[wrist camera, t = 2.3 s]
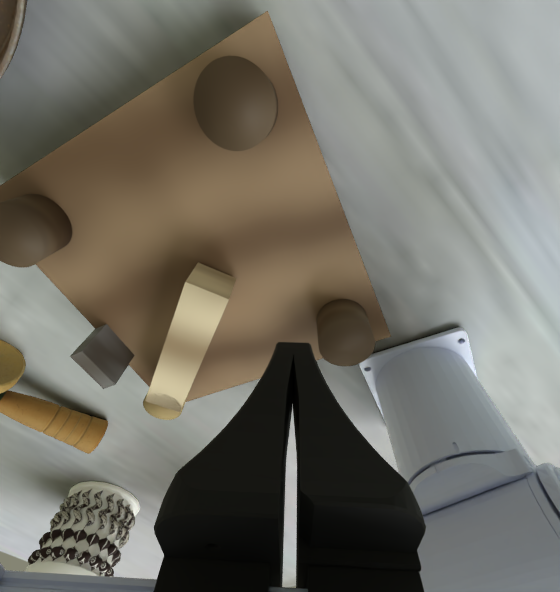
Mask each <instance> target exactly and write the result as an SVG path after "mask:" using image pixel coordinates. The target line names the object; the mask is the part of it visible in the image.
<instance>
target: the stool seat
mask: <svg viewBox="0 0 560 592" xmlns="http://www.w3.org/2000/svg"><path fill="white" fill-rule="evenodd" d="M0 261H2V262H4V263H6V264H9V265H11V266H15V267H29V266H32V265H34V264H36V265H37V266H38V267H39V268H40V269H41V271H42V272H43V273H44V274H45V275H46V276H47V277H48V278H49V279H50V280H51V281H52V282H53V283H54V285H55V286H56V287H57V288H58V289H59V290H60V291H61V292H62V293H63V294H64V295H65V296H66V297H67V299H68V300H69V301H70V302H71V303H72V304H73V305H74V306H75V307H76V308H77V309H78V310H79V311H80V313H81V314H82V315H83V316H84V317H85V318H86V319H87V320H88V321H89V322H90V323H91V324H92V326H93V327H94V328H95V330H94V331H93V332H92V333H91V334H90V335H89V336H88V337H87V339H86V340H85V341H84V342H83V343H82V344H81V345H80V346H79V347H78V348H77V349H76V350H75V351H74V353H73V354H72V355H71V356H70V357H71V358H72V359H73V360H74V361H75V362H76V363H77V364H79V365H80V366H81V367H82V368H83V369H84V370H85V371H86V372H87V373H88V374H89V375H90V376H91V377H92V378H93V379H94V380H95V381H96V382H97V383H98V384H99V385H100V386H101V387H102V388H103V389H104V388H107V387H110V386H113V385H115V384H116V383H117V381H118V380H119V378H120V377H121V375H122V374H123V372H124V371H125V369H126V368H127V366H128V365H130V367H131V368H132V369H133V370H134V371H135V372H136V373H137V374H138V375H139V376H140V377H141V378H142V379H143V381H144V382H145V383H146V384H147V385H148V386H149V387H150V385H151V382H152V379H153V376H154V373H155V370H156V367H157V364H158V361H159V358H160V355H161V352H162V349H163V346H164V343H165V341H166V338H167V335H168V332H169V329H170V326H171V323H172V320H173V317H174V314H175V311H176V308H177V305H178V302H179V299H180V296H181V293H182V290H183V287H184V284H185V282H186V280H187V279H188V277H189V275H190V274H191V272H192V271H193V269H194V268H195V266H196V265H197V263H201V264H203V265H205V266H208V267H210V268H213V269H215V270H217V271H220V272H222V273H225V274H227V275H229V276H232V277H234V278H237V279H236V282H235V284H234V287H233V290H232V293H231V295H230V298H229V301H228V303H227V305H226V308H225V310H224V312H223V314H222V317H221V319H220V321H219V324H218V326H217V328H216V330H215V333H214V335H213V337H212V340H211V342H210V344H209V347H208V349H207V351H206V353H205V356H204V358H203V360H202V363H201V365H200V367H199V369H198V372H197V374H196V376H195V379H194V381H193V383H192V386H191V389H190V391H189V394H188V397H187V399H186V402H187V401H190V400H193V399H197V398H200V397H203V396H206V395H209V394H212V393H215V392H219V391H222V390H225V389H228V388H231V387H234V386H237V385H240V384H244V383H247V382H250V381H253V380H256V379H259V378H261V377H262V375H263V374H264V372H265V370H266V368H267V366H268V364H269V362H270V360H271V357H272V355H273V353H274V350H275V347H276V344H277V343H278V342H301V343H309V344H311V347H312V351H313V354H314V357H315V360H319V359H322V358H324V359H325V360H326V361H328V362H329V363H331V364H334V365H338V366H353V365H356V364H359V363H361V362H363V361H365V360H366V359H367V358H368V357H369V356H370V355H371V354H372V352H373V351H374V348H375V341H379V340H382V339H385V338H388V337H391V335H390V332H389V330H388V327H387V324H386V322H385V319H384V317H383V314H382V311H381V309H380V306H379V303H378V301H377V298H376V295H375V293H374V290H373V288H372V285H371V282H370V280H369V277H368V274H367V272H366V269H365V266H364V264H363V261H362V258H361V256H360V253H359V251H358V248H357V245H356V243H355V240H354V237H353V235H352V232H351V229H350V227H349V224H348V222H347V219H346V216H345V214H344V211H343V208H342V206H341V203H340V200H339V198H338V195H337V193H336V190H335V187H334V185H333V182H332V179H331V177H330V174H329V171H328V169H327V166H326V164H325V161H324V158H323V156H322V153H321V150H320V148H319V145H318V142H317V140H316V137H315V134H314V132H313V129H312V127H311V124H310V121H309V119H308V116H307V113H306V111H305V108H304V105H303V103H302V100H301V98H300V95H299V92H298V90H297V87H296V84H295V82H294V79H293V76H292V74H291V71H290V69H289V66H288V63H287V61H286V58H285V55H284V53H283V50H282V47H281V45H280V42H279V40H278V37H277V34H276V32H275V29H274V26H273V24H272V21H271V18H270V16H269V13H268V11H267V12H265V13H264V14H262V15H260V16H259V17H257V18H256V19H254V20H253V21H251V22H250V23H248V24H247V25H245V26H244V27H242V28H241V29H239V30H238V31H236V32H235V33H233V34H231V35H230V36H228V37H227V38H225V39H224V40H222V41H221V42H219V43H218V44H216V45H215V46H213V47H212V48H210V49H209V50H207V51H205V52H204V53H202V54H201V55H199V56H198V57H196V58H195V59H193V60H192V61H190V62H189V63H187V64H186V65H184V66H183V67H181V68H179V69H178V70H176V71H175V72H173V73H172V74H170V75H169V76H167V77H166V78H164V79H163V80H161V81H160V82H158V83H157V84H155V85H153V86H152V87H150V88H149V89H147V90H146V91H144V92H143V93H141V94H140V95H138V96H137V97H135V98H134V99H132V100H131V101H129V102H127V103H126V104H124V105H123V106H121V107H120V108H118V109H117V110H115V111H114V112H112V113H111V114H109V115H108V116H106V117H105V118H103V119H101V120H100V121H98V122H97V123H95V124H94V125H92V126H91V127H89V128H88V129H86V130H85V131H83V132H82V133H80V134H79V135H77V136H76V137H74V138H72V139H71V140H69V141H68V142H66V143H65V144H63V145H62V146H60V147H59V148H57V149H56V150H54V151H53V152H51V153H50V154H48V155H46V156H45V157H43V158H42V159H40V160H39V161H37V162H36V163H34V164H33V165H31V166H30V167H28V168H27V169H25V170H24V171H22V172H20V173H19V174H17V175H16V176H14V177H13V178H11V179H10V180H8V181H7V182H5V183H4V184H2V185H1V186H0Z"/></svg>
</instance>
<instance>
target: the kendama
mask: <svg viewBox="0 0 560 592" xmlns="http://www.w3.org/2000/svg"><path fill="white" fill-rule="evenodd" d="M25 366H26V363H25V359H24V357H23V355H22V354H21V352H20V351H19V350H18V349H16V348H15V347H13V346H12V345H10V344H8V343H7V342H5V341H2V340H0V412H1V413H3V414H4V415H6V416H8V417H10V418H12V419H14V420H16V421H18V422H20V423H22V424H24V425H26V426H28V427H30V428H32V429H35V430H37V431H39V432H43V433H44V434H46V435H48V436H51V437H54V438H55V439H58V440H60V441H63V442H65V443H67V444H69V445H71V446H72V445H73V446H74V447H75V448H77V449H79V450H81V451H83V452H85V453H88V454H89V453H91V452H92V451H93V450H94V449H95V448H96V447H97V446H98V444H99V442H100V441H101V439H102V437H103V436H104V434H105V432H106V429H107V426H108V421H106V420H103V419H100V418H96V417H93V416H92V417H90V415H87V414H84V413H80V412H78V411H75V410H71V409H69V408H66V407H63V406H61V407H60V406H59V405H57V404H54V403H51V402H48V401H45V400H42V399H39V398H36V397H32V396H28V395H24V394H20V393H16V392H12V391H8V390H9V389H10V388H12V387H13V386H14V385H15V384H16V383H17V381H18V380H19V379H20V377H21V376H22V375H23V373H24V370H25Z"/></svg>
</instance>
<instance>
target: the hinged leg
mask: <svg viewBox="0 0 560 592" xmlns="http://www.w3.org/2000/svg"><path fill="white" fill-rule="evenodd" d="M236 279H237V278H234V277H232V276H229V275H227V274H225V273H222V272H220V271H217V270H215V269H213V268H210V267H208V266H205V265H203V264H201V263H197V265H196V266H195V268H194V269H193V271H192V272H191V274H190V275H189V277H188V279H187V280H186V282H185V284H184V287H183V290H182V293H181V296H180V299H179V302H178V305H177V308H176V311H175V314H174V317H173V320H172V323H171V326H170V329H169V332H168V335H167V338H166V341H165V343H164V346H163V349H162V352H161V355H160V358H159V361H158V364H157V367H156V370H155V373H154V376H153V379H152V382H151V385H150V388H149V391H148V393H147V395H146V397H145V399H144V401H143V406H144V408H145V410H146V411H147V412H148V413H149V414H151V415H152V416H154V417H156V418H159V419H164V420H170V419H175V418H177V417H178V416H179V415H180V414H181V412H182V409H183V407H184V404H185V402H186V399H187V397H188V394H189V391H190V389H191V386H192V383H193V381H194V379H195V376H196V374H197V372H198V369H199V367H200V365H201V363H202V360H203V358H204V356H205V353H206V351H207V349H208V347H209V344H210V342H211V340H212V337H213V335H214V333H215V330H216V328H217V326H218V324H219V321H220V319H221V317H222V314H223V312H224V310H225V308H226V305H227V303H228V301H229V298H230V295H231V293H232V290H233V287H234V284H235V282H236Z"/></svg>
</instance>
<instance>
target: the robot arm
mask: <svg viewBox="0 0 560 592" xmlns="http://www.w3.org/2000/svg"><path fill="white" fill-rule="evenodd" d="M460 338H462V339H461V340H459V339H460ZM359 367H360V369H361V371H362V373H363V375H364V378H365V380H366V382H367V384H368V386H369V388H370V390H371V393H372V395H373V397H374V399H375V401H376V403H377V405H378V408H379V410H380V412H381V414H382V416H383V418H384V421H385V423H386V427H387V431H388V434H389V438H390V441H391V445H392V449H393V452H394V456H395V460H396V463H397V467H398V470H399V473H398V472H396V471H395V470H394V469H393V468H392V467H391V466H390V465H389V464H388V463H387V462H386V461H385V460H384V459H383V458H382V457H381V456H380V455H379V454H378V452H377V451H376V450H375V449H374V448H373V447H372V446H371V445H370V444H369V442H368V441H367V440H366V439H365V438H364V437H363V435H362V434H361V433H360V432H359V431H358V430H357V428H356V427H355V426H354V425H353V423H352V422H351V421H350V419H349V418H348V417H347V415H346V414H345V412H344V411H343V409H342V408H341V407H340V405H339V403H338V402H337V400H336V399H335V397H334V395H333V394H332V392H331V390H330V389H329V387H328V385H327V383H326V381H325V379H324V377H323V375H322V373H321V371H320V369H319V367H318V364H317V362H316V360H315V357H314V354H313V351H312V347H311V344H309V343H301V342H278V343H277V344H276V347H275V350H274V353H273V355H272V357H271V360H270V362H269V364H268V366H267V368H266V370H265V372H264V374H263V375H262V377H261V379H260V381H259V382H258V384H257V385H256V387H255V389H254V390H253V392H252V393H251V395H250V396H249V398H248V399H247V401H246V402H245V403H244V405H243V406H242V407H241V409H240V410H239V411H238V413H237V414H236V415H235V416H234V417H233V418H232V420H231V421H230V422H229V423H228V424H227V426H226V427H225V428H224V429H223V430H222V431H221V432H220V433H219V434H218V435H217V436H216V437H215V438H214V439H213V440H212V441H211V442H210V443H209V444H208V445H207V446H206V447H205V448H204V449H203V450H202V451H201V452H200V453H199V454H197V455H196V456H195V457H194V458H193V459H192V460H190V461H189V462H188V463H187V464H186V465H185V466H183V467H182V468H181V469H180V470H179V471H178V472H177V473H176V475H175V477H174V479H173V481H172V482H171V484H170V486H169V489H168V491H167V493H166V495H165V497H164V499H163V502H162V505H161V508H160V511H159V514H158V516H157V519H156V522H155V525H154V531H155V535H156V537H157V539H158V542H159V544H160V546H161V549H162V551H163V553H164V558H163V562H162V565H161V568H160V571H159V575H158V578H157V580H154V579H138V578H122V577H105V576H89V575H73V574H57V573H40V572H23V571H7V570H5V569H4V567H3V565H2V564H1V563H0V592H560V468H558V467H555V466H554V465H552V464H550V463H544V464H541V465H539V466H536V465H535V464H534V463H533V461H532V460H531V458H530V457H529V455H528V454H527V452H526V451H525V449H524V448H523V446H522V445H521V443H520V442H519V440H518V439H517V437H516V436H515V434H514V432H513V431H512V429H511V428H510V426H509V425H508V423H507V422H506V420H505V419H504V417H503V416H502V414H501V413H500V411H499V410H498V408H497V407H496V405H495V404H494V402H493V401H492V399H491V398H490V396H489V395H488V393H487V392H486V390H485V389H484V387H483V386H482V384H481V383H480V381H479V380H478V378H477V374H476V369H475V365H474V361H473V357H472V352H471V348H470V344H469V339H468V335H467V332H466V331H465V329H463V328H460V327H459V328H455V329H452V330H448V331H445V332H442V333H439V334H435V335H432V336H429V337H426V338H422V339H419V340H416V341H413V342H410V343H406V344H403V345H400V346H397V347H393V348H390V349H387V350H384V351H380V352H377V353H374V354H371V355H370V356H369V357H368V358H367V359H366V360H365V361H363V362H361V363H359ZM365 367H368V368H365ZM292 403H293V413H294V425H295V438H296V450H297V560H296V588H285V587H282V573H283V538H284V504H285V472H286V455H287V446H288V437H289V429H290V421H291V412H292Z"/></svg>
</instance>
